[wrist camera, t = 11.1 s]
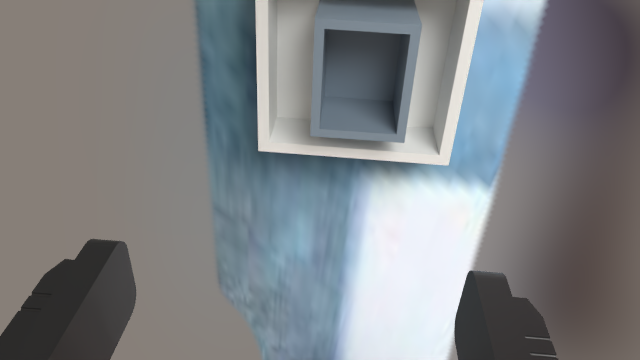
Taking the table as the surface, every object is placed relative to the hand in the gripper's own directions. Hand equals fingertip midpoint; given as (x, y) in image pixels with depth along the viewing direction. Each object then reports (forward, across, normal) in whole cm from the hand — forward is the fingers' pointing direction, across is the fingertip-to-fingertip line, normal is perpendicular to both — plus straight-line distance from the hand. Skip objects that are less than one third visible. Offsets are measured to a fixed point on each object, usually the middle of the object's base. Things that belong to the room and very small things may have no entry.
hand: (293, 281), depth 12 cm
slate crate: (+28, -2, +5) cm, 29 cm away
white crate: (+29, -2, +5) cm, 30 cm away
